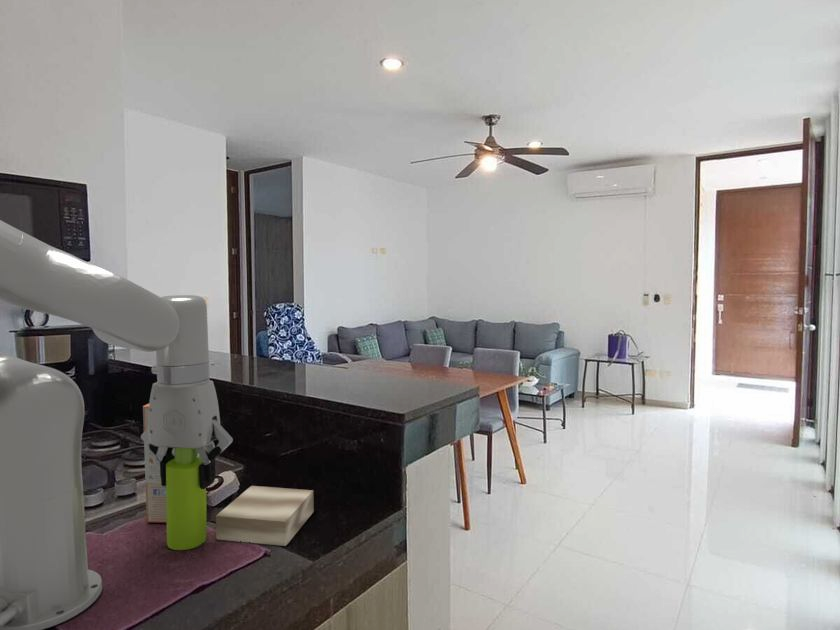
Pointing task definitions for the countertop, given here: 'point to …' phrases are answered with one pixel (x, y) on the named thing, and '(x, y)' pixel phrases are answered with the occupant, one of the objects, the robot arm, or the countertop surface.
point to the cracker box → (153, 482)
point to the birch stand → (265, 515)
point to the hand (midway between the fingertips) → (188, 483)
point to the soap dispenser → (185, 501)
